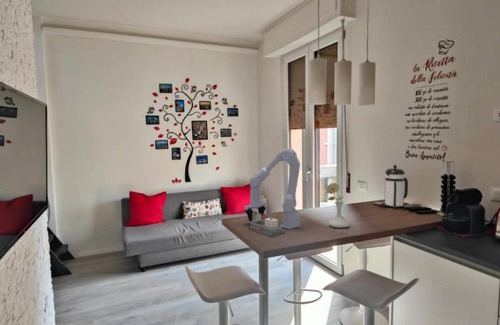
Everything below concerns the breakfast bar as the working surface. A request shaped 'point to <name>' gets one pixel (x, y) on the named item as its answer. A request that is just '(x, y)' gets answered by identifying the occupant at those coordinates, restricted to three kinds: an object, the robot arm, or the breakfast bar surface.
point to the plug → (256, 217)
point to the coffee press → (395, 187)
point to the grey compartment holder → (267, 227)
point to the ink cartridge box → (261, 202)
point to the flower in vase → (338, 219)
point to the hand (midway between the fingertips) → (255, 220)
